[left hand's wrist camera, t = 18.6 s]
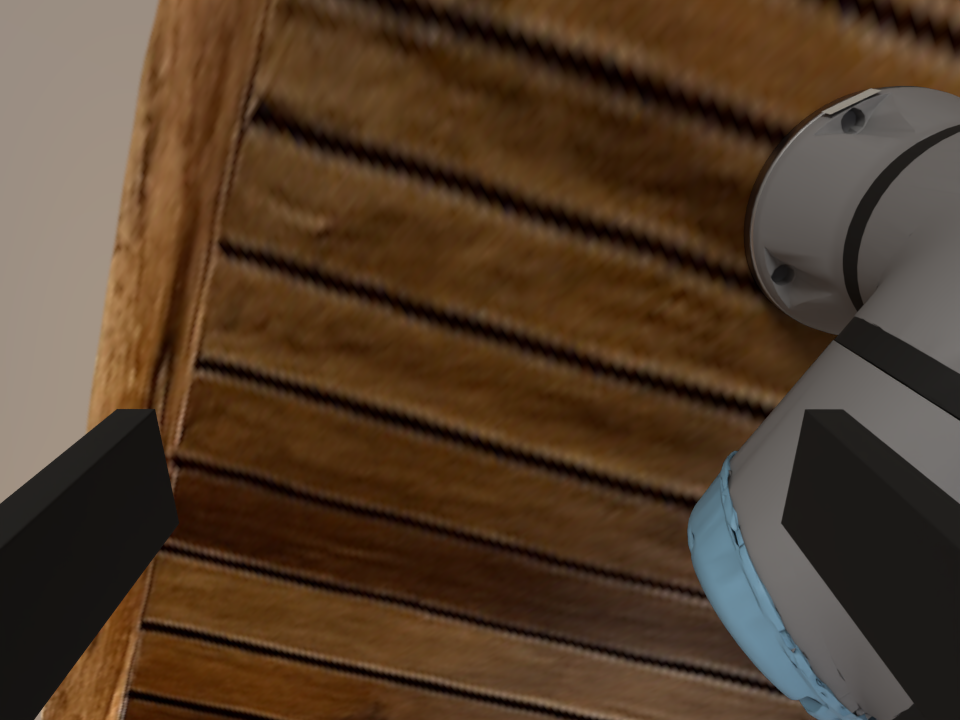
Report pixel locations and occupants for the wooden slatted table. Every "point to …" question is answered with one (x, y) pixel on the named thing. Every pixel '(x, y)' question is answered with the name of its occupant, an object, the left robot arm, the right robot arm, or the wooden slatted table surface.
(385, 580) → the wooden slatted table surface
